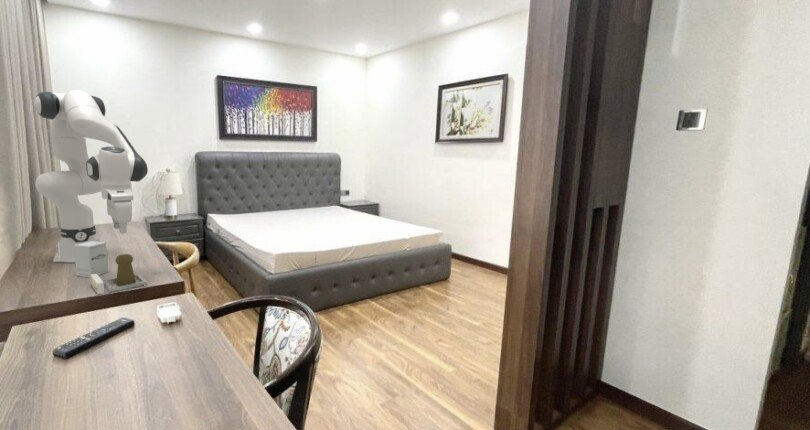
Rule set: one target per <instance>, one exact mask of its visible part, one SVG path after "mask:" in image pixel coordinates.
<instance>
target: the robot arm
mask: <svg viewBox="0 0 810 430" xmlns="http://www.w3.org/2000/svg"><path fill="white" fill-rule="evenodd" d="M34 107H35V109H36V112H37V113H38V115H39V116H40V117H42V118H44V119H47V120H51V122H50V135H51V136H50V137H51V145H52V154H53V156H54V158H56V159H57V160H59V161H61V162H64V163H65V164H66V165H67V166H68V170H56V171H55V170H53V171H47V172H45V173H40V174H39V175H38V176H37V177H36V179H35V183H34V185H35V188H36V191H37V192H38V193H39V195H41V196H42V197H44V198H46V199H48V200H49V201H51V203H53V204H54V206H55V207H56V208H57V212H58V214H59V218H60V219H59V220H60V226H61V228H60V231H59V232H60V237H61V239H59V240H58V242H57V243H56V244H55V249H56V251H57V252H56V254H55V256H54V258H53V259H52V261H53V263H75V255H74V245H76V244H81V243H85V242H90V241H96V242H102V238H101V237H99V236H98V235H97V232H96V231H97V228H96V225H95V224H94V214H93V211H94V210H93V209H92V208H91V207H90V206H89V205H87V204H83V203H81V201H80V199H79V197H78V196H86V195H87V196H88V195H89V196H90V195H94V194H97V193H100V192H101V198H102V199H104V200H106V211H107V215H108V216H109V217H111V219H112V224H113V228H114V229H116V230H117V229H119V233H120V234H122V235H123V234H127V227H128V223H131V222H132V218H133V202H132V201H134V194H133V189H132V183H131V182H136V183H137V182H140V181H142V180H143V179H145V178H146V176H147V174H148V172H149V170H148V165H147V163H146V161H145V159H144V158H143V157H142V156H141V155H140V154H139V153H138V152H137V150H136V149H135V147H134V146H133V145H132V144H131V142H130V141H129V139H128V138H127V136H126V135H125V133H124V132H123V131H122V130H121V128H120V127H119V126H118V125H116V124H115V123H112V122H111V121H110V120H108V119H107V118H106V117H105V115H106V106H105V103H104V101H103V100H102V99H101V98H100V97H98V96H95V95H94V96H93V95H91V94H90V93H89V92H87V91H84V90H80V89H72V90H69V91H68V92H52V91H41V92H39V93H37V94H36V96H35V99H34ZM86 139H91V140H95V141H99V142H104V143H106V144H109V145H111V146H104V147H101V148H99V151H98V154H96V155H93V156H91V157H89V155H88V148H87V142H86V141H87V140H86Z"/></svg>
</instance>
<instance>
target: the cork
mask: <svg viewBox="0 0 810 430" xmlns="http://www.w3.org/2000/svg"><path fill="white" fill-rule="evenodd" d="M133 261H134V257H133V255H131V254H127V253H125V254H119V255H117V256H116V257H115V263H116V264H117V271H116V278H117V282H116V285H117V286H120V285H126V284H131V283H136V280H135V276H134V274H135V273H134V269H133V268H134V267H133V264H132V263H133Z"/></svg>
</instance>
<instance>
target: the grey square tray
mask: <svg viewBox="0 0 810 430" xmlns="http://www.w3.org/2000/svg"><path fill="white" fill-rule="evenodd" d="M134 276H135V280H136V283H131V284H126V285H120V286H117V285H116V282H117V277H112V278H106V279H102V281H103V285H104V288H105V289H106V291H108V293H115V292H120V291H125V289H127V290H130V289H129V288H132V289H134V288H133V287H137V288H139V287H138V286H142V287H145V286H144V285H147V286H148V281H147V280H146V279H145V278H144V277H143V276H142V275H141V274H140V273H134Z"/></svg>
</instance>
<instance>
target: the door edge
mask: <svg viewBox="0 0 810 430" xmlns="http://www.w3.org/2000/svg"><path fill="white" fill-rule="evenodd" d="M89 282H90V283H91V286H92V287H93V289H94V290H95V292H96V293H97V295H101V294H105V286H104V285H103V279H101V277H100V275H97V274H92V275H91V278H89Z"/></svg>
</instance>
